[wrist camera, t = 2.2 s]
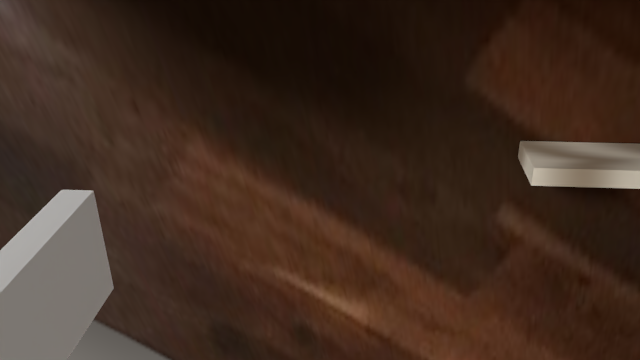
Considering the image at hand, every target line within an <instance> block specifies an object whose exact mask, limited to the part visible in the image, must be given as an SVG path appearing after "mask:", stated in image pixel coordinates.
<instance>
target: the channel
mask: <svg viewBox="0 0 640 360" xmlns="http://www.w3.org/2000/svg"><path fill="white" fill-rule="evenodd" d="M518 159H519V161H520V163H521V165H522V167H523V169H524V171H525V173H526V176H527V178H528V180H529V182H530V184H531V186H563V187H597V188H631V189H640V144H632V143H589V142H547V141H520V146H519V153H518Z"/></svg>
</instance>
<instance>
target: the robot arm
mask: <svg viewBox="0 0 640 360" xmlns="http://www.w3.org/2000/svg"><path fill="white" fill-rule="evenodd" d="M113 288H114V287H113V282H112V277H111V272H110V268H109V263H108V258H107V253H106V249H105V244H104V239H103V234H102V229H101V225H100V220H99V215H98V210H97V205H96V201H95V196H94V191H89V190H61V191H60V192H59V193H58V194H57V195H56V196H55V197H54V198H53V199H52V200H51V201H50V202H49V203H48V204H47V205H46V206H45V207H44V208H43V209H42V210H41V211H40V212H39V213H38V214H37V215H36V216H35V217H34V218H33V219H32V220H31V221H30V222H29V223H28V224H27V225H25V226H24V227H23V228H22V229H21V230H20V231H19V232H18V233H17V234H16V235H15V236H14V237H13V238H12V239H11V240H10V241H9V242H8V243H7V244H6V245H5V246H4V247H3V248H2V249H1V250H0V360H67V359H68V358H69V356H70V355H71V353H72V351H73V350H74V348H75V347H76V345H77V344H78V342H79V341H80V339H81V338H82V336H83V334H84V333H85V331H86V330H87V328H88V327H89V325H90V324H91V322H92V321H93V319H94V318H95V316H96V314H97V313H98V311H99V310H100V308H101V307H102V305H103V304H104V302H105V301H106V299H107V297H108V296H109V294H110V293H111V291H112V290H113Z"/></svg>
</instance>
